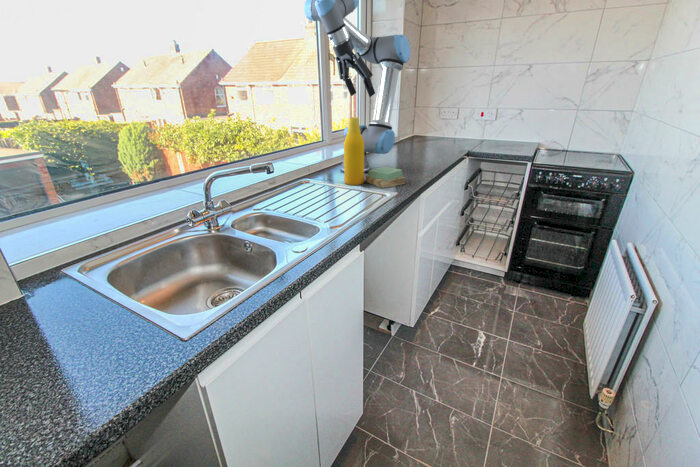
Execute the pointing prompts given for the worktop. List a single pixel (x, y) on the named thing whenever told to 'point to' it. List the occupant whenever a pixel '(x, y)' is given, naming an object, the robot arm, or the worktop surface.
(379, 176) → the top block
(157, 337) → the worktop surface
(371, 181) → the base block
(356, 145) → the beer bottle
